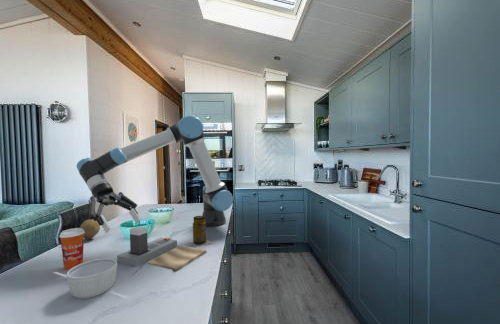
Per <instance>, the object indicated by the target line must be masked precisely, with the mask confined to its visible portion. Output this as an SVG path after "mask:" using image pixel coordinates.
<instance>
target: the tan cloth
mask: <svg viewBox="0 0 500 324" xmlns="http://www.w3.org/2000/svg"><path fill="white" fill-rule="evenodd" d="M206 253H207V249H203V248H197V247H192V246H186V245H181V244H180V245H177V246H176V247H174V248H172V249H170V250H168V251H166V252H164V253H162V254H160V255H158V256H156V257H154V258H152V259H150V260H148V261H147V264H149V265H153V266H158V267H163V268H167V269H170V270H172V271H173V272H177V271H179V270H180V269H182V268H183V267H185V266H188V265H189V264H190V263H191V262H193V261H195V260H196V259H198V258H200V257H201V256H202V255H204V254H206Z"/></svg>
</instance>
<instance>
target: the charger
mask: <svg viewBox="0 0 500 324" xmlns="http://www.w3.org/2000/svg"><path fill="white" fill-rule="evenodd" d="M148 243H149V242H148V227H145V226H135V227H132V228H129V245H130V246H129V250H130V251H131V254H134V255H138V256H140V255H142V254H144V253H146V252H148Z"/></svg>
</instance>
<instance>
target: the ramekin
mask: <svg viewBox="0 0 500 324" xmlns="http://www.w3.org/2000/svg"><path fill="white" fill-rule="evenodd" d="M117 268H118V262H117V259H114V258H108V257H107V258H106V257H104V258H97V259H92V260H88V261H85V262H84V261H83V263H82V264H79V265H77V266H75V267H73V268H72V269H70V270H67V272H66V280H67V282H68V287H69V291H70V294H71V295H72V296H73V297H74V298H76V299H90V298H93V297H98V296H99V295H102V294H104V293H106V292H108V291H109V289H111V288H112V287H113V286H114V285H115V283H116V279H117V278H116V277H117Z"/></svg>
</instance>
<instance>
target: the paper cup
mask: <svg viewBox="0 0 500 324" xmlns="http://www.w3.org/2000/svg"><path fill="white" fill-rule="evenodd" d="M84 233H85V231H84V230H83V229H82V228H80V227H75V228H68V229H65V230H62V231H61V232H60V235H59V239H60V248H61V255H62V263H63V269H64V270H65V271H69V270H70V269H72V268H73V267H75V266H77V265H79V264H82V263H84V241H85V240H84V239H85V238H84Z"/></svg>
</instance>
